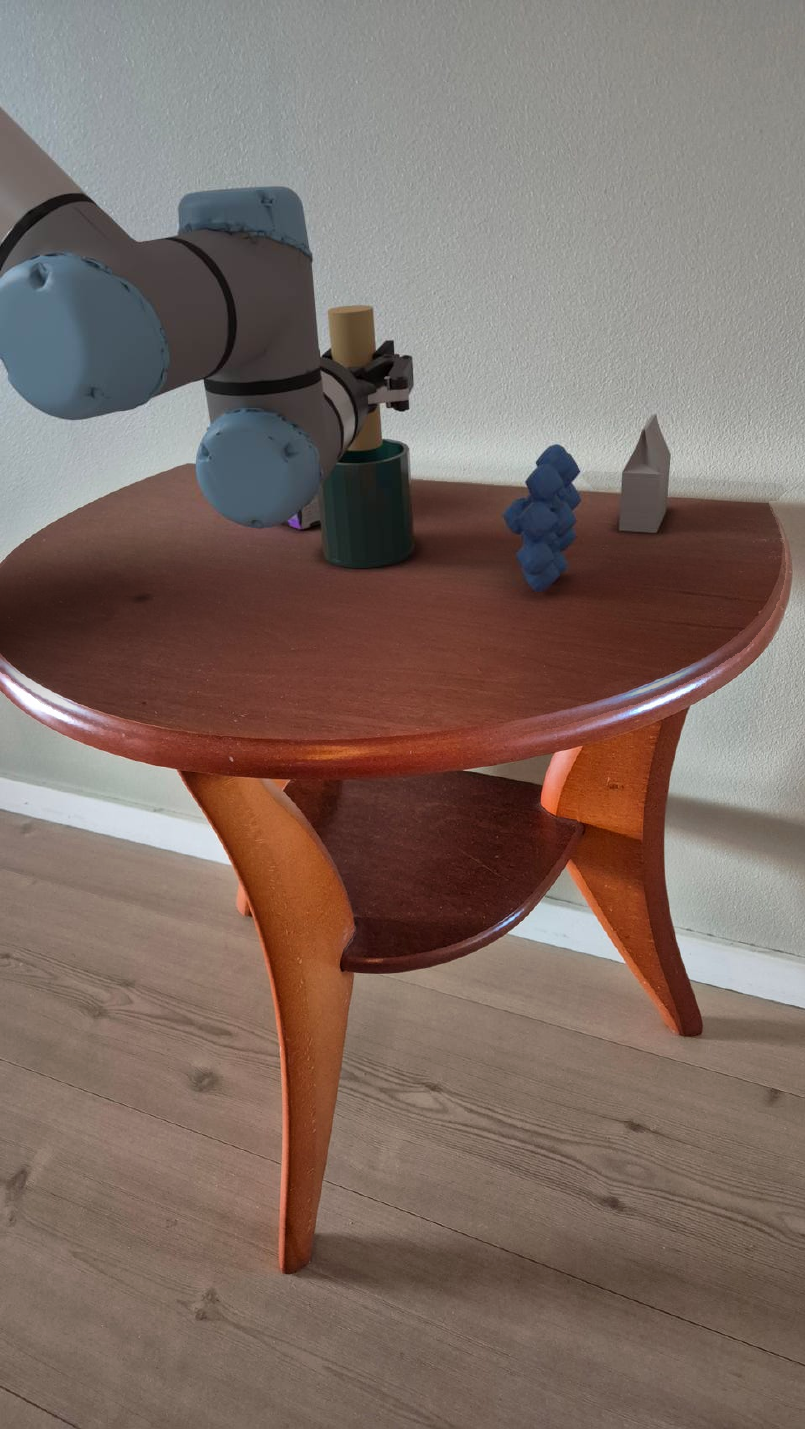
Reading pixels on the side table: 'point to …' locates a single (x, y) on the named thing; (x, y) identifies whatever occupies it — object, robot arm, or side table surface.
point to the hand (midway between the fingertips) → (366, 356)
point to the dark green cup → (368, 508)
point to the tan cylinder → (356, 359)
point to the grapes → (546, 517)
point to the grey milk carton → (645, 482)
